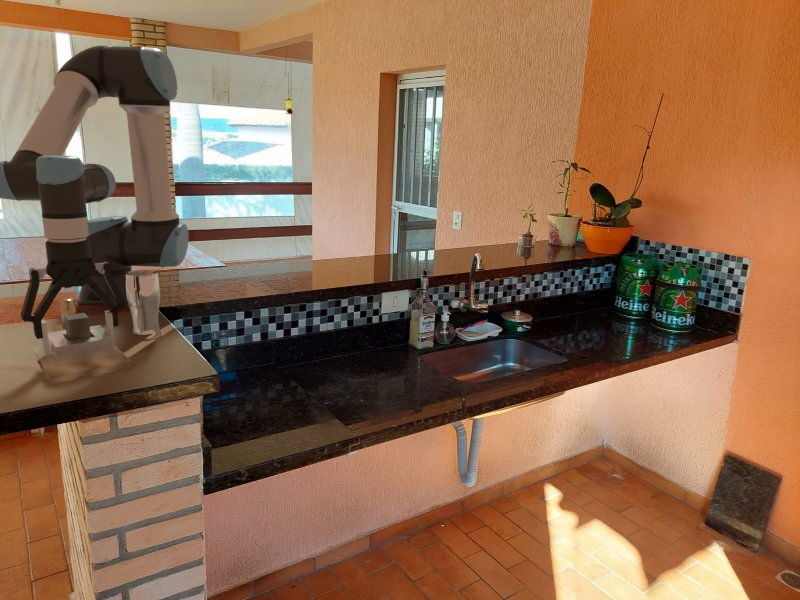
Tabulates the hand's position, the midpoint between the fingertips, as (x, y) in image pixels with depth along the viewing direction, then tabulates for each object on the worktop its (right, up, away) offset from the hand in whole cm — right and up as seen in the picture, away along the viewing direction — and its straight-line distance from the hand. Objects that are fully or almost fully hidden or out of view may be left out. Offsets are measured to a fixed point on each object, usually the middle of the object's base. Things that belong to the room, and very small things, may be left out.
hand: (80, 347), depth 118 cm
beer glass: (+6, +1, +17) cm, 18 cm away
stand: (-11, +2, +17) cm, 20 cm away
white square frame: (0, -1, 0) cm, 2 cm away
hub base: (0, -3, +1) cm, 3 cm away
